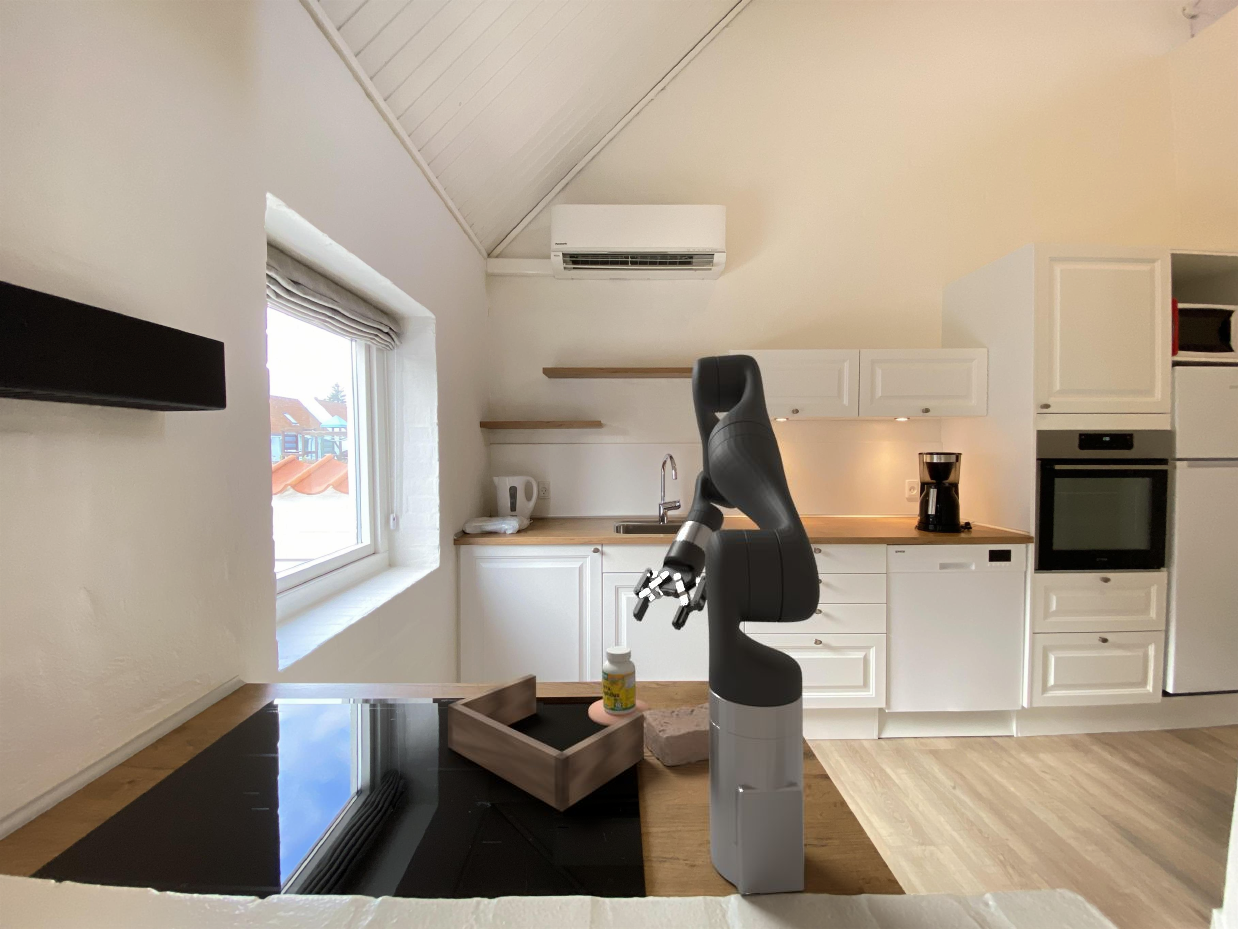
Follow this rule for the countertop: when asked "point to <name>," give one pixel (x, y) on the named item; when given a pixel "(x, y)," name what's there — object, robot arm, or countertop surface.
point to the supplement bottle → (619, 682)
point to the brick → (678, 734)
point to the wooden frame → (539, 745)
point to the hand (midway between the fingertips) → (655, 623)
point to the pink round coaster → (607, 719)
